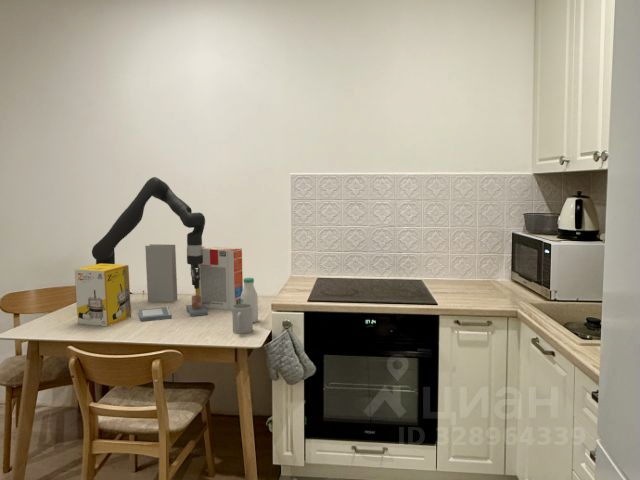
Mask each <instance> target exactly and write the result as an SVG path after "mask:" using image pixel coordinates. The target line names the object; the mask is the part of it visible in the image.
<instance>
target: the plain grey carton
mask: <svg viewBox="0 0 640 480" xmlns="http://www.w3.org/2000/svg"><path fill="white" fill-rule="evenodd" d="M176 253H177V252H176V244H149V245H145V266H146V267H145V269H146V288H147V289H146V290H147V302H151V303H153V302H154V303H155V302H156V303H174V301H176V300H178V282H177V281H178V280H177V279H178V278H177V257H176V256H177V255H176Z"/></svg>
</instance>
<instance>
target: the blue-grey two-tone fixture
mask: <svg viewBox="0 0 640 480" xmlns="http://www.w3.org/2000/svg"><path fill="white" fill-rule="evenodd" d="M185 307H186V310H187V312H188V313H189V316H190V317H195V316H196V317H197V316H206V315H209V314H208V312H209V311H208V309H207V307H204V305H203V304H201V296H200V295H196V294H195V295H191V304H186V305H185Z"/></svg>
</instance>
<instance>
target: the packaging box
mask: <svg viewBox="0 0 640 480" xmlns="http://www.w3.org/2000/svg"><path fill="white" fill-rule="evenodd" d="M129 270H130V267H129V264H119V263H118V264H116V263H115V264H96V263H95V264H92V265H88V266H84V267H79V268H75V269H74V280H75V281H74V282H75V297H76V298H75V299H76V311H77V315H76V316H77V324H79V325H80V324H81V325H90V326H91V325H92V326H99V325H101V327H109V325H110V326H111V324H112V325H115V324H117V323H119V321H120V322H122V321H124V320H126V319H129V318H132V309H131V308H132V306H131V288H130V271H129ZM121 320H122V321H121ZM116 322H117V323H116ZM114 323H115V324H114Z"/></svg>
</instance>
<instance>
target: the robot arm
mask: <svg viewBox="0 0 640 480" xmlns="http://www.w3.org/2000/svg"><path fill="white" fill-rule="evenodd" d="M152 197H153V198H155V199H158V200H160V201H161V202H163V203H165V204H166V205H167V206H169V209H170V210H172V212H173V213H174V214H175V215H176V216H178V217H179V219H180V221H181V222H182V225H183V226H184V227H186V228H189V229H191V228H193V229H192V231H191V232H189V233H187V234H186V244H187V245H186V263H187V265H190V276H191V285H192V286H193V287H194V290H195V289H198V288H199V280H200V268H199V267H198V264H202V263H203V248H202V247H203V234H204V229H205V225H206V218H205V215H204V214H203V213H202V212H192V211H193V210H192V208H191V207H190V205H188V204H187V203H186V202H184V201H183V199H181V198H180V197H178V196H177V195H176V194H175V192H173V190H172V189H171V188H170V186H169V185H168V184H167V183H166V182H165V181H163V180H162V179H160V178H158V177H156V176H153V177H150V178H149V179H148V180H146V182H145V183H144V185H143V186H142V187H141V189H140V191H139V192H138V193H137V194H136V197H134V199H133V200H132V201H131V202H130V204H129V205H128V206H127V207H126V208H125V209H124V211H123V212H121V214H120V215H119V216H118V218H117V219H116V221H115V222H114V223H113V224H112V226H111V227H110V229H109V230H108V232H106V234H105V235H104V236H103V237H102V238H101V239H100V240H99V241H98V242H96V243H95V244H94V245H93V247H92V249H91V254H92V258H94V260H95V265H96V264H116V259H115V257H116V256H115V249H116V247H117V246H118V245H119V243H120V242H121V241H122V240H123V239H124V238H126V237H127V236H128V235H129V234H130V233H132V232H133V230H134V229H135V228H136V227H137V226H138V225H139V223H141V221H142V218H143V215H144V211H145V210H144V209H145V206H146V204H147V202H148V201H149V200H150V199H151V198H152ZM196 277H198V278H196Z"/></svg>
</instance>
